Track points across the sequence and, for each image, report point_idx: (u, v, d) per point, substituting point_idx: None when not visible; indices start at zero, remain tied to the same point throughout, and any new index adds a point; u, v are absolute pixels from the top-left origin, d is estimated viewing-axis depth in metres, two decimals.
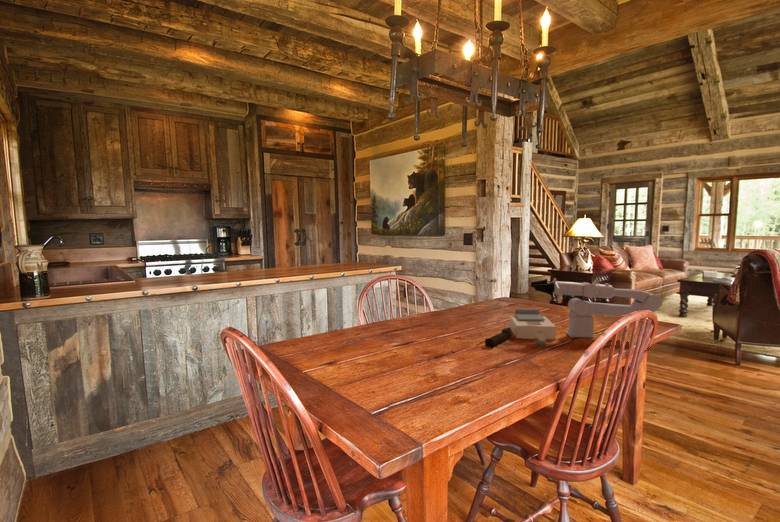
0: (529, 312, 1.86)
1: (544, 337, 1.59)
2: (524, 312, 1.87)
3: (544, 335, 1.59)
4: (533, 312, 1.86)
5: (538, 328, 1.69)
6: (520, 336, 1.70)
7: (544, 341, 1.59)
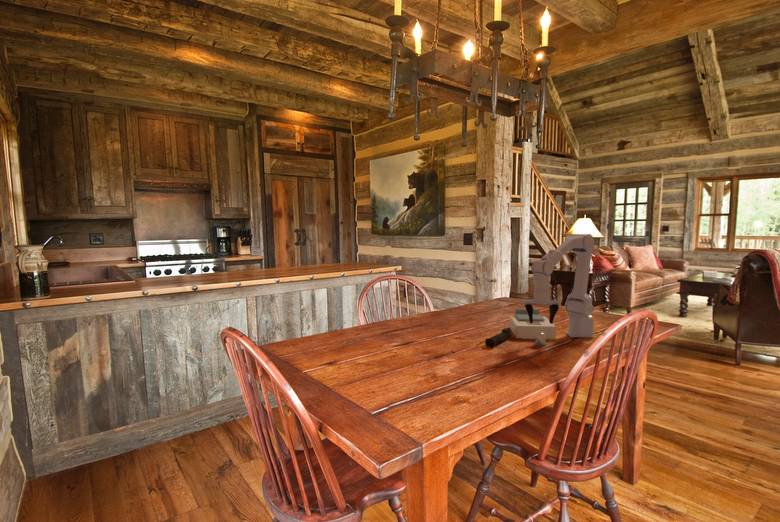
0: None
1: (544, 337, 1.59)
2: (524, 312, 1.87)
3: (544, 335, 1.59)
4: (533, 312, 1.86)
5: (538, 328, 1.69)
6: (520, 336, 1.70)
7: (544, 341, 1.59)
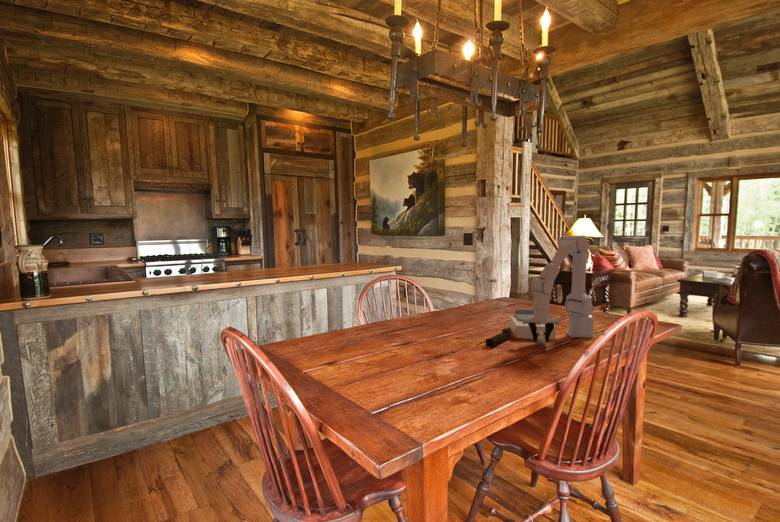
0: (529, 312, 1.86)
1: (544, 337, 1.59)
2: (524, 312, 1.87)
3: (544, 335, 1.59)
4: (533, 312, 1.86)
5: (538, 328, 1.69)
6: (520, 336, 1.70)
7: (544, 341, 1.59)
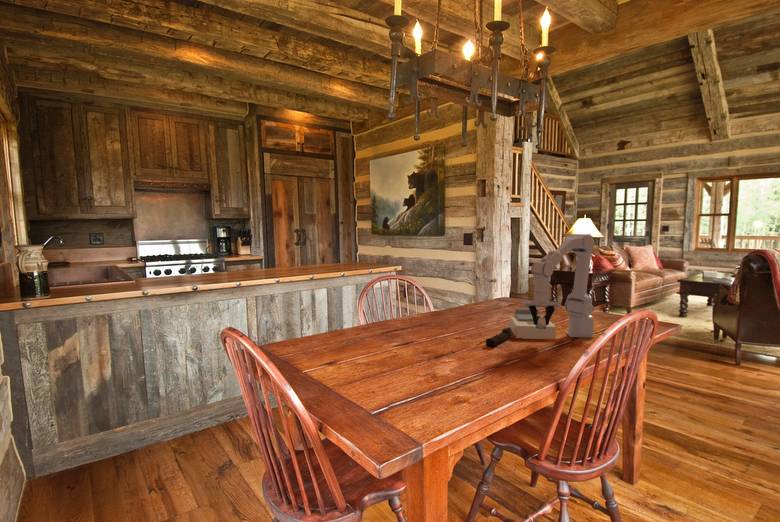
0: (529, 312, 1.86)
1: (544, 320, 1.58)
2: (524, 312, 1.87)
3: (544, 318, 1.58)
4: None
5: None
6: (520, 336, 1.70)
7: (544, 324, 1.59)
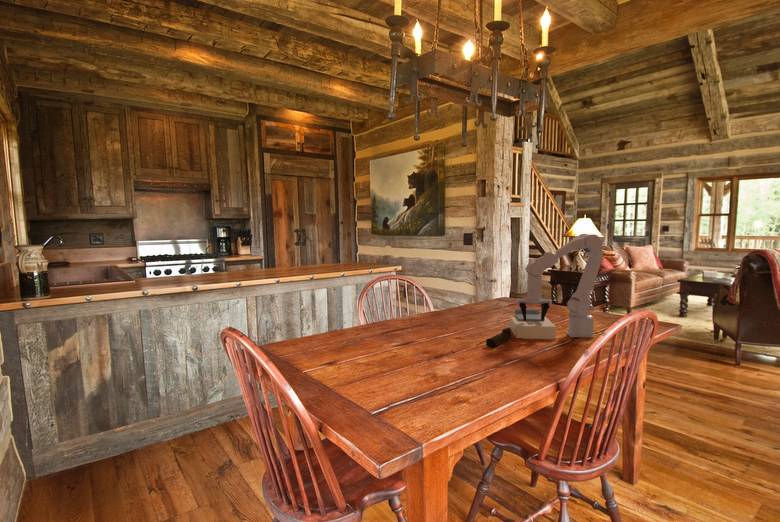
0: (529, 312, 1.86)
1: None
2: None
3: None
4: (533, 312, 1.86)
5: (538, 328, 1.69)
6: (520, 336, 1.70)
7: None
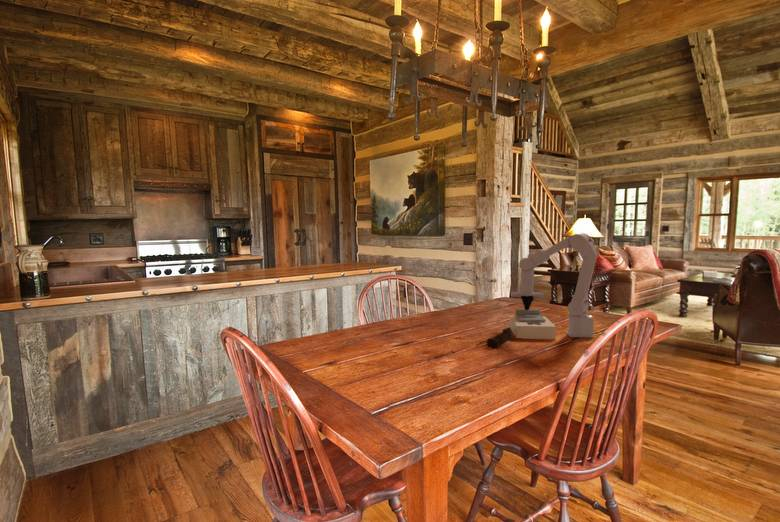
0: (530, 313, 1.85)
1: None
2: (525, 313, 1.85)
3: None
4: (534, 313, 1.85)
5: (538, 328, 1.69)
6: (520, 336, 1.70)
7: None
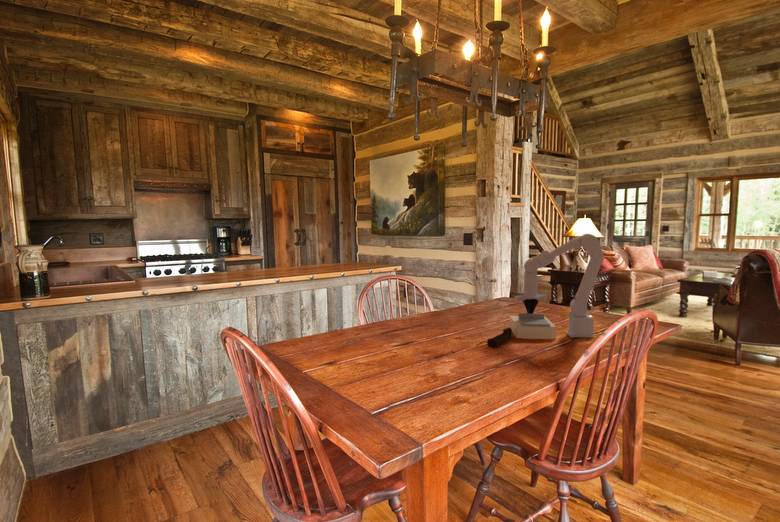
0: (533, 317, 1.77)
1: None
2: (528, 317, 1.78)
3: None
4: (538, 317, 1.77)
5: (538, 328, 1.69)
6: (520, 336, 1.70)
7: None
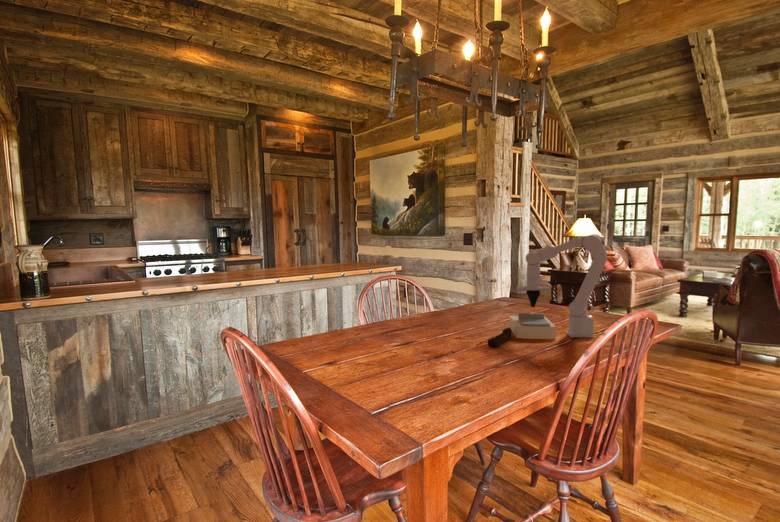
0: (533, 317, 1.77)
1: None
2: (528, 317, 1.78)
3: None
4: (538, 317, 1.77)
5: (538, 328, 1.69)
6: (520, 336, 1.70)
7: None
